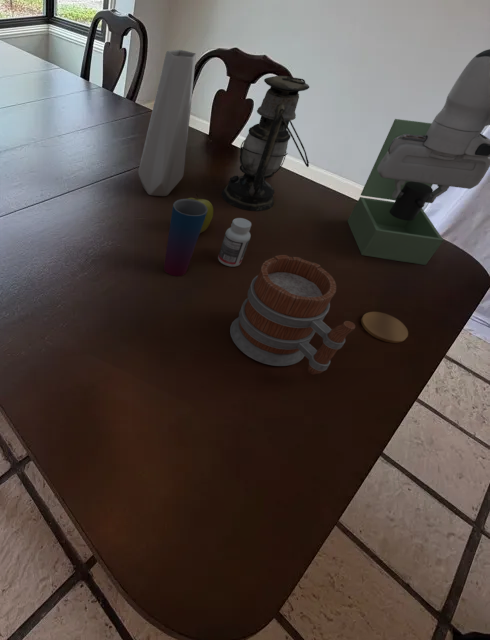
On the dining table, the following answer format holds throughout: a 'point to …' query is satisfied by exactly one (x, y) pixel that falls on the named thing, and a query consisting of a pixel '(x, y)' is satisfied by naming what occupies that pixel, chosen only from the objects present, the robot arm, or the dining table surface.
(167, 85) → the vase
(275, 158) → the lantern
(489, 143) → the robot arm
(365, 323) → the coaster
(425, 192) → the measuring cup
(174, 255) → the cup
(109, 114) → the dining table surface
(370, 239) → the chest
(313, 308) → the mug
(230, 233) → the pill bottle
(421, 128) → the lid
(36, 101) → the dining table surface
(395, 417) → the dining table surface
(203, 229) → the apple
